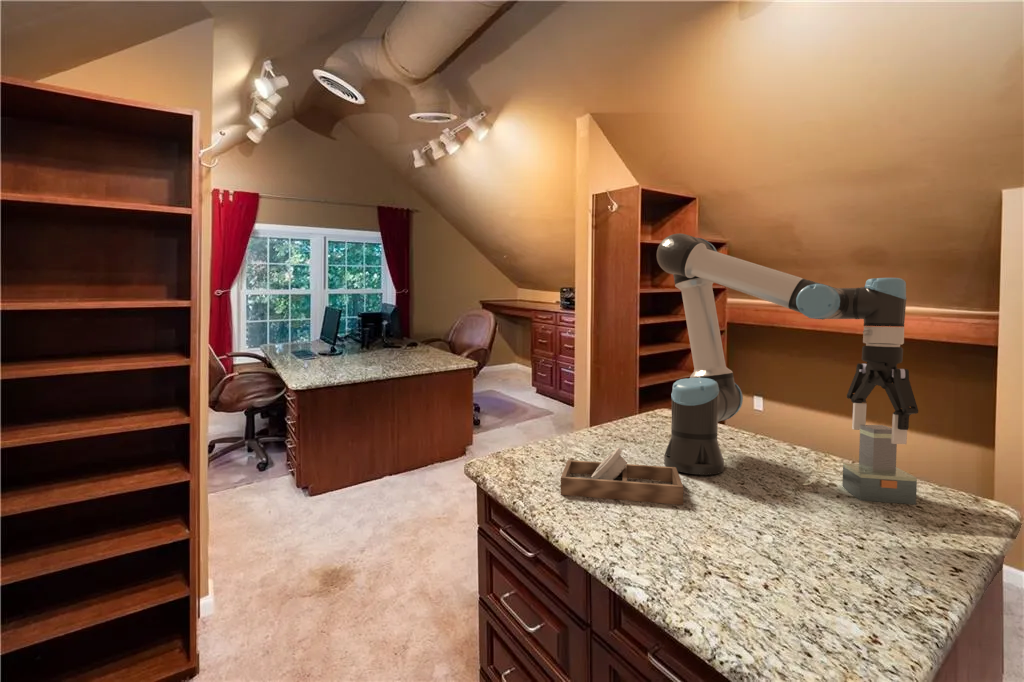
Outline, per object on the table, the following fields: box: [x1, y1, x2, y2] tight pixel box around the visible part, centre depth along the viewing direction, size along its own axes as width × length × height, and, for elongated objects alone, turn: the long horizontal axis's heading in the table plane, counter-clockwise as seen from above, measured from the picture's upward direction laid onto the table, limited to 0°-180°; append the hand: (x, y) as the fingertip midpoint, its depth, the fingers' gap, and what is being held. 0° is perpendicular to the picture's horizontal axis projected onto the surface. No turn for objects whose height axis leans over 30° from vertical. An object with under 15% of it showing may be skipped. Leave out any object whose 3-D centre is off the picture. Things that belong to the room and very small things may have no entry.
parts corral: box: [560, 459, 684, 506], centre depth 117 cm, size 27×15×4 cm, turn 77°
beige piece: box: [590, 447, 628, 480], centre depth 119 cm, size 10×4×10 cm
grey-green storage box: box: [842, 462, 918, 505], centre depth 113 cm, size 11×9×6 cm
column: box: [858, 424, 898, 473], centre depth 113 cm, size 5×5×10 cm
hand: (877, 436), depth 113 cm, fingers open, 13 cm apart
